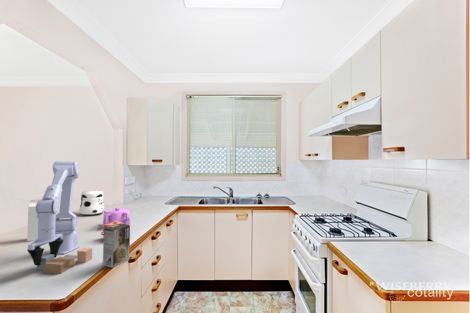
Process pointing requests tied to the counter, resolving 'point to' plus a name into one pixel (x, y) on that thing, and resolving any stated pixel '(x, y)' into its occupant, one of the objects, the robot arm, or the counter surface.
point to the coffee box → (116, 245)
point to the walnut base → (59, 264)
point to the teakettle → (117, 216)
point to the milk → (32, 221)
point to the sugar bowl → (110, 225)
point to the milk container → (91, 203)
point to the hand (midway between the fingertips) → (45, 261)
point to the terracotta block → (84, 255)
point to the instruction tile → (71, 256)
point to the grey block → (45, 261)
